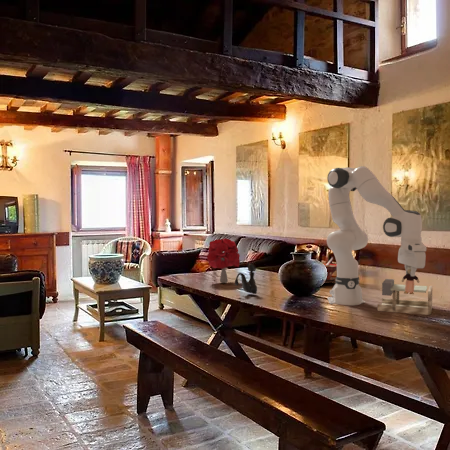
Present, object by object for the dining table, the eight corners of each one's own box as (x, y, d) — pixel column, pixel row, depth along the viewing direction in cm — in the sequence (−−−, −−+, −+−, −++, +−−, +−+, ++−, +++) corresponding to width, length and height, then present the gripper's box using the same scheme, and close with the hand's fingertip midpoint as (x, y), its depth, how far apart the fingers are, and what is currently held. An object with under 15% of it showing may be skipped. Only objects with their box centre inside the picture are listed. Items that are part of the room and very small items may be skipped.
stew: (322, 278, 346) (322, 256, 345) (350, 282, 327) (350, 258, 326) (295, 282, 328) (295, 258, 327) (323, 287, 309) (323, 261, 309)
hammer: (382, 295, 238) (382, 282, 238) (385, 290, 251) (385, 278, 251) (425, 298, 230) (425, 285, 230) (427, 293, 242) (427, 281, 242)
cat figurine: (231, 293, 288) (230, 263, 287) (250, 291, 295) (250, 261, 295) (240, 296, 280) (239, 264, 279) (260, 293, 287) (259, 263, 286)
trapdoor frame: (377, 310, 238) (377, 288, 237) (382, 304, 254) (382, 283, 253) (430, 315, 228) (430, 291, 227) (432, 307, 243) (432, 285, 243)
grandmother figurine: (401, 294, 225) (402, 266, 225) (401, 292, 229) (401, 265, 228) (419, 294, 223) (420, 267, 223) (418, 293, 227) (419, 266, 226)
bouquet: (200, 281, 334) (200, 238, 333) (227, 278, 349) (226, 236, 348) (220, 285, 318) (220, 239, 317) (247, 281, 333) (247, 237, 332)
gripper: (394, 243, 235) (394, 272, 236) (414, 247, 215) (414, 279, 216) (407, 243, 236) (406, 271, 237) (428, 247, 215) (427, 278, 216)
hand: (410, 275), depth 226 cm, fingers closed on grandmother figurine, 3 cm apart
